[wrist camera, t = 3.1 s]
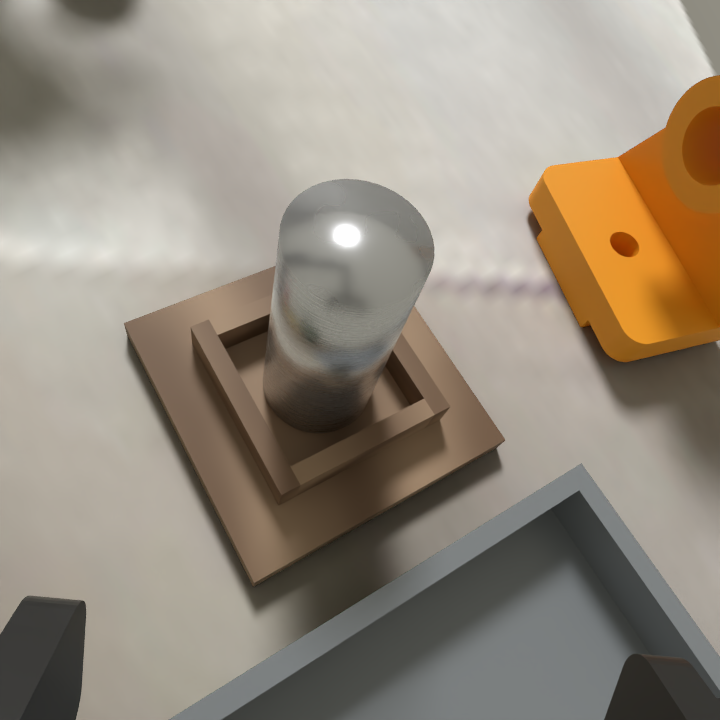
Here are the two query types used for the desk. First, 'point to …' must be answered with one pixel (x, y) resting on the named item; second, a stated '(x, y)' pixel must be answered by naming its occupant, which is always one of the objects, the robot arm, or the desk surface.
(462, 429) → the stop seat
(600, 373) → the desk surface
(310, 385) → the pin
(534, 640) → the tray
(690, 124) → the bracket
